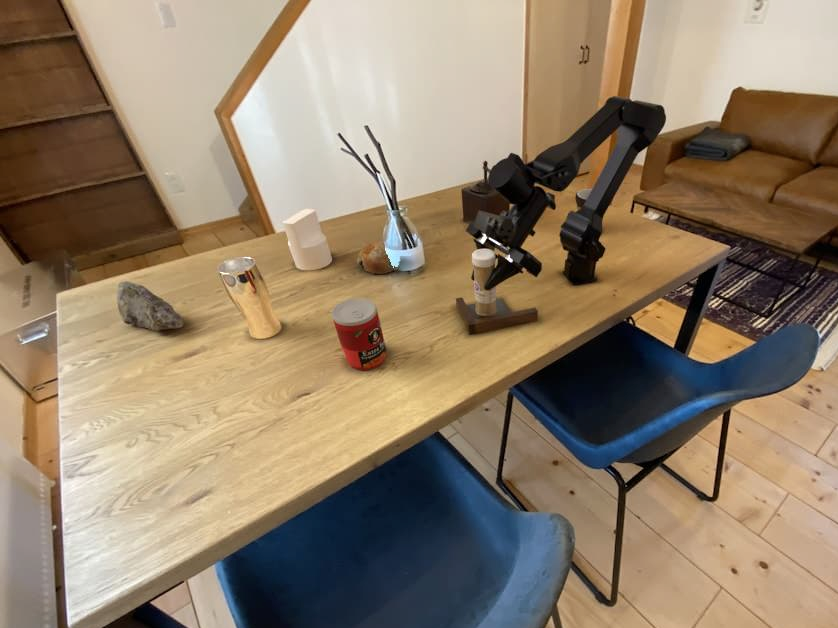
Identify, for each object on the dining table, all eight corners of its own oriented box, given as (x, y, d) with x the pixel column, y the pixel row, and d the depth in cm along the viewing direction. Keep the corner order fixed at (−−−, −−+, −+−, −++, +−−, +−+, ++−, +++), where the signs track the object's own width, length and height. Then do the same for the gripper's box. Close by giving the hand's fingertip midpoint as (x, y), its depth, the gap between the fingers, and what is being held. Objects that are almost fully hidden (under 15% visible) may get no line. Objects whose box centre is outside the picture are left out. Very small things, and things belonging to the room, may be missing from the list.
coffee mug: (605, 236, 122) (611, 200, 115) (575, 236, 122) (579, 200, 116) (599, 219, 131) (604, 184, 124) (570, 219, 131) (574, 185, 124)
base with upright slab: (318, 272, 108) (302, 225, 100) (288, 267, 110) (270, 221, 102) (339, 256, 115) (326, 211, 106) (310, 251, 117) (295, 207, 109)
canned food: (368, 376, 80) (353, 327, 72) (337, 361, 83) (320, 313, 75) (396, 353, 84) (385, 305, 77) (366, 340, 88) (353, 293, 80)
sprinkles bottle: (471, 312, 92) (466, 253, 83) (485, 303, 95) (482, 245, 86) (487, 320, 90) (484, 261, 81) (501, 310, 93) (500, 252, 84)
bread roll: (387, 289, 109) (395, 264, 103) (349, 270, 107) (355, 243, 102) (402, 270, 116) (410, 245, 111) (366, 251, 114) (372, 226, 109)
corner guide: (520, 295, 100) (520, 286, 98) (537, 320, 92) (538, 311, 90) (456, 308, 96) (455, 298, 94) (469, 335, 89) (468, 325, 87)
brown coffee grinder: (460, 221, 130) (455, 156, 118) (484, 210, 137) (482, 147, 125) (500, 235, 123) (499, 168, 111) (524, 222, 129) (525, 157, 117)
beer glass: (249, 344, 87) (215, 277, 77) (246, 326, 92) (214, 261, 82) (286, 334, 89) (258, 268, 79) (281, 317, 94) (254, 252, 84)
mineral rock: (188, 334, 90) (162, 291, 83) (126, 352, 86) (94, 309, 79) (183, 305, 98) (159, 264, 91) (127, 320, 94) (97, 278, 87)
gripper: (470, 179, 84) (427, 249, 87) (532, 209, 73) (480, 289, 75) (503, 210, 92) (463, 272, 95) (563, 241, 81) (516, 311, 84)
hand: (479, 284), depth 87 cm, fingers closed on sprinkles bottle, 4 cm apart
